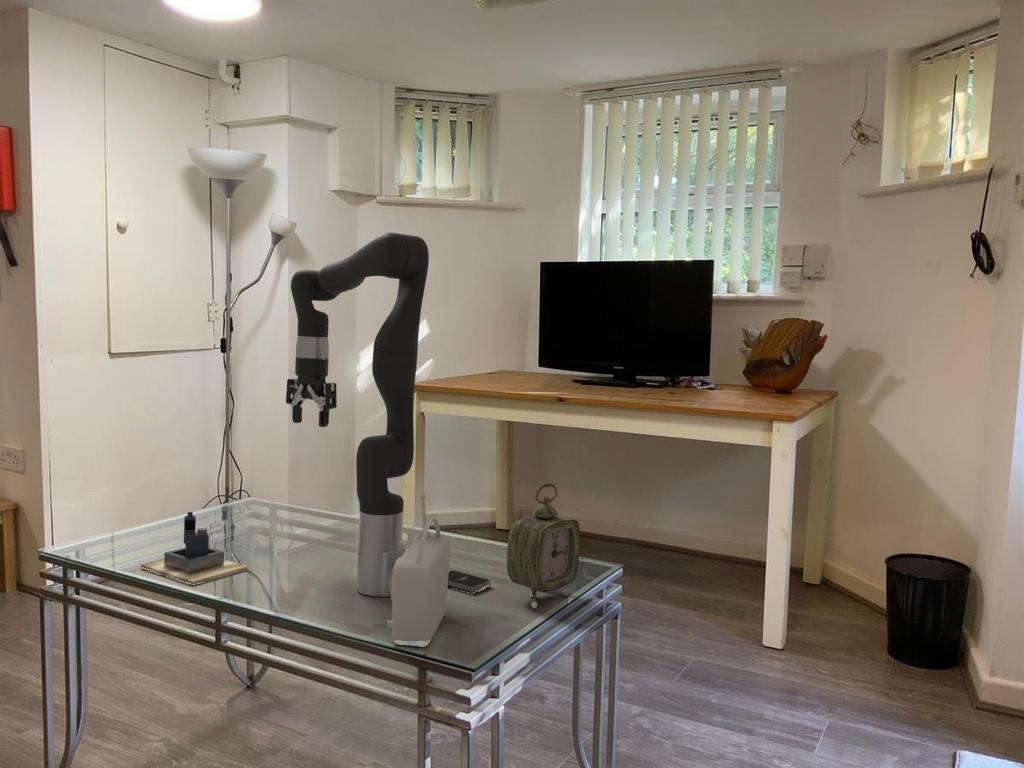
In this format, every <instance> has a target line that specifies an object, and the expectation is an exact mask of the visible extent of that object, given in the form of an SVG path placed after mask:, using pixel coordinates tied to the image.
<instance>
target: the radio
mask: <svg viewBox="0 0 1024 768" xmlns="http://www.w3.org/2000/svg"><path fill="white" fill-rule="evenodd" d="M420 498H421V509H422V510H421V511H422V512H421V513H422V526H423V527H422V528H423V529H421V530H420V532H419V535H418V536H416V538H415V539H414V540H413V542H412V543H411V544H410V545H409V547H408V548H406V552H405V553H404V554H403V555H402V556H401V558H398V559H397V560H396V563H395V565H394V568H393V574H392V581H391V595H390V600H391V608H392V609H391V619H388V620H387V621H386V627H387V628H391V640H392V639H393V640H401V641H428V640H430V639H431V638H432V636H433V635H434V636H435V634H434V633H436V632H437V630H438V628H439V626H440V624H441V622H442V621H443V618H444V616H445V615H446V611H447V601H448V600H447V599H448V590H449V588H448V573H449V571H450V570H449V569H450V556H451V555H450V553H451V541H450V539H449V537H447V536H442V535H441V527H440V524H439V521H438V520H437V518H429V519H427V516H426V515H427V514H426V494H425V493H420ZM432 523H433V526H434V529H435V535H430V527H431V525H432ZM435 631H436V632H435ZM434 636H433V637H434ZM432 639H433V638H432ZM393 640H392V641H393Z"/></svg>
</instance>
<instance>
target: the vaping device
mask: <svg viewBox="0 0 1024 768" xmlns="http://www.w3.org/2000/svg"><path fill="white" fill-rule="evenodd" d="M196 519H197V517H196V515H194V513H193V511H188V512H187V515H185V516H184V517H183V525H184V526H183V530H184V531H183V544H184V545H185V548H186V552H185V557H188V558H195V557H199V556H203V555H207V554H209V547H210V536H209V533H208V529H207V527H199V528H197V529H196V527H197V526H196V525H197V523H196V522H197V520H196ZM196 530H197V531H196Z"/></svg>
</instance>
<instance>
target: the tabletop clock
mask: <svg viewBox="0 0 1024 768" xmlns="http://www.w3.org/2000/svg"><path fill="white" fill-rule="evenodd" d="M548 487H551V488H552V489H554V494H553V496H552V497H551V498H549V496H544V497H543V500H540V499H539V494H540V493H541V490H543V489H544V488H548ZM557 495H558V488H557V486H556V485H555V484H553V483H551V482H550V483H544V484H541V486H540V487H539V488H538V489H537V490H536V493H535V499H536V501H537V503H538V504H539V505H538V506H537V507H536V508H535V509H534V511H533V514H530V515H528V516H525V517H523V518H521V519H518V520H515V521H514V522H512V524H510V527H509V530H508V536H507V537H508V538H507V546H506V547H507V549H506V571H507V575H508V578H509V579H510V580H511V582H512V583H514V584H516V585H520V586H523V587H526V588H530V591H531V590H532V595H533V598H532V600H533V599H535V598H536V597H537V594H536V593H537V591H538V592H542V593H548V592H552V591H555V590H559V589H561V587H566V586H568V585H569V584H570V583H572V582H573V581H574V580H575V579H576V576H577V572H578V569H579V568H578V567H579V562H580V551H581V533H580V532H581V530H580V523H579V521H578V520H577V519H573V518H569V517H564V516H559V515H558V510H557V509H556V508H555V507H554V506H553V505H551V504H550V503H552V502H553V501H555V499H556V498H557ZM536 599H537V598H536Z"/></svg>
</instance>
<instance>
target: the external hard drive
mask: <svg viewBox="0 0 1024 768" xmlns="http://www.w3.org/2000/svg"><path fill="white" fill-rule="evenodd" d="M488 584H490V585H491V579H489V578H485V577H481V576H477V575H473V574H469V573H466V572H462V571H458V570H454V569H452V570H449V573H448V587H449V588H448V589H450V588H454V589H458V590H462V591H465V592H470V593H473V592H475V591H476V590H479V589H481V588H482V587H484V586H486V585H488Z"/></svg>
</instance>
